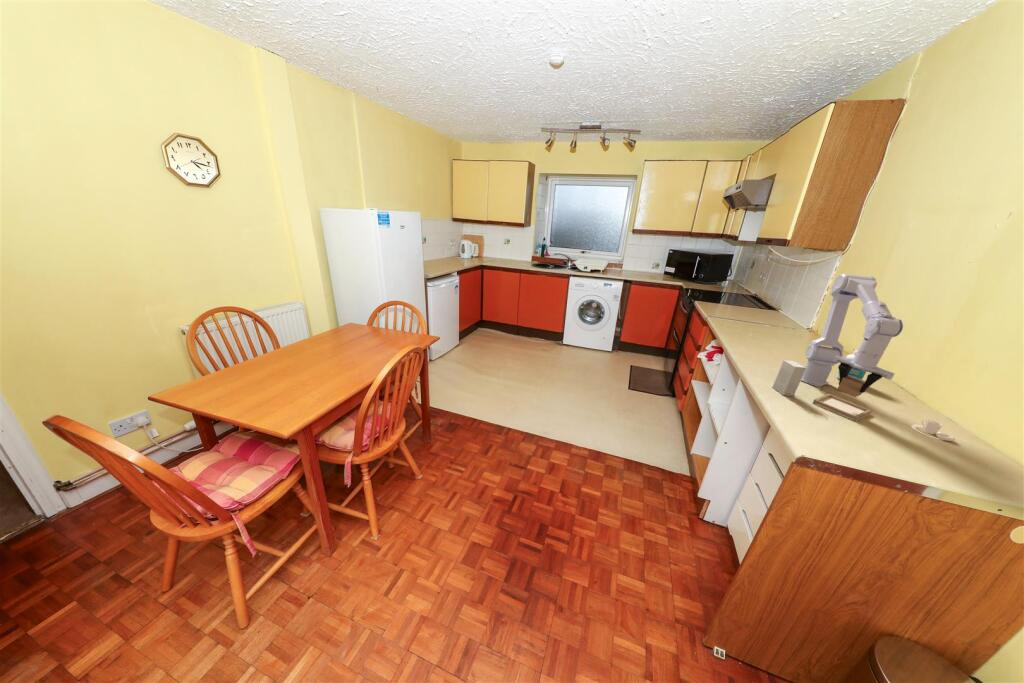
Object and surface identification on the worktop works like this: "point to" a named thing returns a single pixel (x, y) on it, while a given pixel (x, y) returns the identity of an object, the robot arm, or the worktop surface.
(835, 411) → the tray
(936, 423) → the teacup and saucer
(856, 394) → the cube
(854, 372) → the pill bottle
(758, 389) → the worktop surface
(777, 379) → the skincare box
